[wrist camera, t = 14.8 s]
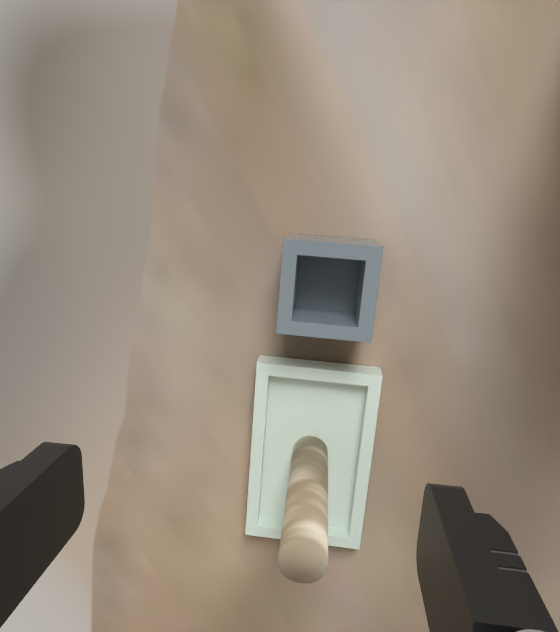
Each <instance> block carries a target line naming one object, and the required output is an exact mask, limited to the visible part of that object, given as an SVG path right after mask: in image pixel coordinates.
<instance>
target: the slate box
mask: <svg viewBox="0 0 560 632" xmlns="http://www.w3.org/2000/svg"><path fill="white" fill-rule="evenodd" d="M382 252H383V246H381V245H380V244H379V243H377V242H376V241H375V240H367V239H355V238H343V237H330V236H318V235H306V234H294V233H290V234H288V235H287V236H286V237H285V238H283V250H282V263H281V276H280V290H279V303H278V316H277V329H276V334H286V335H296V336H307V337H317V338H327V339H337V340H347V341H357V342H368V343H371V340H372V332H373V324H374V316H375V308H376V300H377V292H378V284H379V276H380V268H381V260H382Z"/></svg>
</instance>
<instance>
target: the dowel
mask: <svg viewBox="0 0 560 632" xmlns="http://www.w3.org/2000/svg"><path fill="white" fill-rule="evenodd" d="M278 565H279V568H280V570H281V572H282V573H283V574H284V575H285V576H286V577H287V578H288V579H290V580H292V581H294V582H298V583H312V582H315V581H317V580H319V579H320V578H321V577H322V576H323V575H324V574H325V573H326V571H327V568H328V450H327V447H326V445H325V443H324V442H323V441H322V440H321V439H319V438H317V437H314V436H305V437H302V438H300V439H299V440H298V441H297V442H296V443H295V444H294V447H293V452H292V459H291V467H290V474H289V481H288V488H287V496H286V503H285V510H284V517H283V525H282V532H281V539H280V546H279V554H278Z"/></svg>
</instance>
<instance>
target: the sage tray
mask: <svg viewBox="0 0 560 632" xmlns="http://www.w3.org/2000/svg"><path fill="white" fill-rule="evenodd" d="M382 377H383V375H382V372H381V369H380V367H373V366H363V365H353V364H343V363H334V362H324V361H314V360H304V359H294V358H285V357H275V356H265V355H260V357H259V359H258V361H257V368H256V382H255V397H254V412H253V427H252V442H251V457H250V472H249V486H248V501H247V516H246V531H245V535H252V536H259V537H267V538H275V539H281V532H282V525H283V517H284V510H285V503H286V496H287V488H288V481H289V474H290V467H291V459H292V452H293V447H294V444H295V443H296V442H297V441H298V440H299V439H300V438H302V437H305V436H314V437H317V438H319V439H321V440H322V441H323V442H324V443H325V445H326V447H327V450H328V546H336V547H344V548H351V549H360V542H361V534H362V527H363V519H364V512H365V504H366V497H367V489H368V482H369V474H370V467H371V459H372V452H373V444H374V437H375V429H376V422H377V414H378V407H379V399H380V392H381V384H382Z"/></svg>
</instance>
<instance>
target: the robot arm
mask: <svg viewBox="0 0 560 632" xmlns="http://www.w3.org/2000/svg"><path fill="white" fill-rule="evenodd" d="M83 512H84V486H83V470H82V455H81V450H80V448H79V447H78V446H77V445H71V444H60V443H52V442H44V443H42V444H40V445H39V446H38V447H37V448H35V450H33V451H32V452H31V453H29V454H28V455H27V456H26V457H25V458H24V459H22V460H21V461H16V462H14V463H12V464H10V465H8V466H6V467H4V468H2V469H0V627H1V626H2V625H3V624H4V622H5V621H6V620H7V619H8V617H9V616H10V615H11V613H12V612H13V611H14V610H15V608H16V607H17V606H18V604H19V603H20V602H21V601H22V599H23V598H24V597H25V595H26V594H27V593H28V592H29V590H30V589H31V588H32V586H33V585H34V584H35V583H36V581H37V580H38V579H39V577H40V576H41V575H42V574H43V573H44V571H45V570H46V568H47V567H48V566H49V565H50V564H51V562H52V561H53V560H54V558H55V557H56V556H57V555H58V553H59V552H60V551H61V550H62V548H63V547H64V545H65V544H66V543H67V542H68V540H69V539H70V538H71V536H72V535H73V534H74V533H75V531H76V530H77V528H78V526H79V524H80V522H81V519H82V516H83ZM417 572H418V578H419V583H420V587H421V592H422V597H423V602H424V606H425V611H426V616H427V621H428V625H429V630H430V632H558V630H557V628H556V626H555V624H554V622H553V620H552V618H551V616H550V614H549V612H548V610H547V608H546V606H545V604H544V602H543V601H542V599H541V597H540V595H539V593H538V591H537V589H536V587H535V585H534V583H533V581H532V579H531V577H530V575H529V573H527V571H526V567H525V565H524V563H523V561H522V559H521V557H520V556H518V551H517V549H516V547H515V545H514V543H513V541H512V539H511V537H510V535H509V533H508V532H507V531H506V530H505V529H504V528H503V527H502V526H501V525H500V524H499V523H498V522H497V521H496V520H495V519H494V518H493V517H492V516H490V515H489V514H482V513H474V510H473V508H472V506H471V503H470V501H469V499H468V496H467V494H466V492H465V490H464V488H463V487H457V486H448V485H438V484H429V483H428V484H427V485H426V487H425V491H424V497H423V504H422V511H421V519H420V526H419V533H418V540H417Z"/></svg>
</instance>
